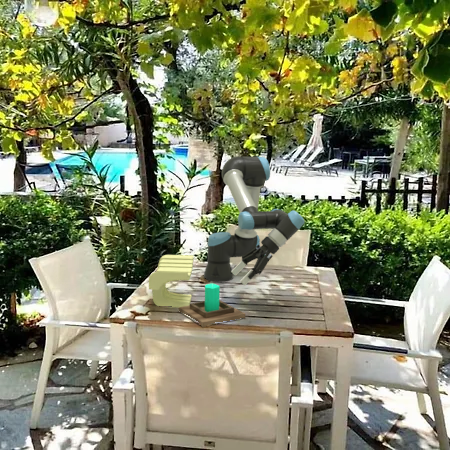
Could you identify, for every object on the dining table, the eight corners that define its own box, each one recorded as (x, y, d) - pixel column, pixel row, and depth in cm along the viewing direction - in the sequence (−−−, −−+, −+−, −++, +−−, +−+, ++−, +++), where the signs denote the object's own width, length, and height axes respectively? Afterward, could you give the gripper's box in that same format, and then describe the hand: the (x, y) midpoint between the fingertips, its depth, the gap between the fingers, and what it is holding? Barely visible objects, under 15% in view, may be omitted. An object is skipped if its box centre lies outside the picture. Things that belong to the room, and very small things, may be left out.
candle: (204, 307, 214) (204, 280, 212) (218, 307, 214) (219, 280, 212) (204, 312, 208) (205, 284, 206) (219, 312, 209) (220, 284, 206)
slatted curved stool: (159, 291, 242) (159, 254, 238) (193, 292, 241) (193, 255, 238) (148, 313, 212) (148, 271, 209) (187, 314, 212) (187, 272, 209)
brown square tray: (178, 311, 214) (178, 302, 214) (219, 304, 225) (219, 295, 224) (202, 327, 198) (203, 317, 197) (245, 318, 209) (245, 308, 208)
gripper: (290, 255, 201) (252, 293, 201) (269, 241, 225) (235, 275, 224) (278, 242, 199) (240, 281, 198) (258, 229, 223) (224, 264, 222)
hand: (237, 278), depth 211 cm, fingers open, 13 cm apart
